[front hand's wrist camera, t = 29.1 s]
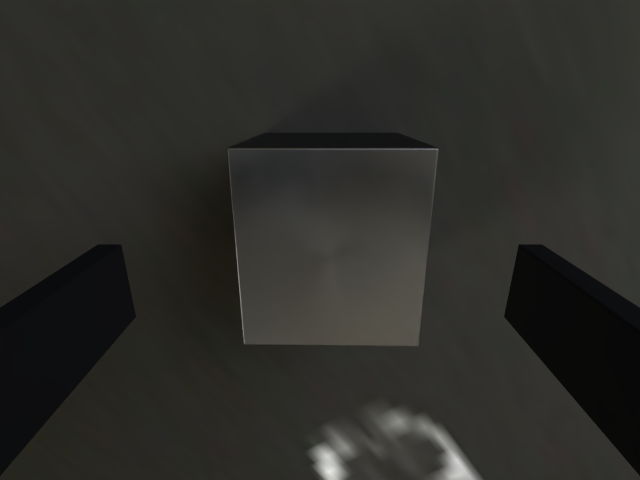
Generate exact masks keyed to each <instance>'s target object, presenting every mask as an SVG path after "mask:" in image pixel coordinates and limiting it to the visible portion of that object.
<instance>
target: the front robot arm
mask: <svg viewBox="0 0 640 480" xmlns="http://www.w3.org/2000/svg"><path fill="white" fill-rule="evenodd" d="M135 317H136V315H135V310H134V305H133V300H132V296H131V291H130V286H129V281H128V276H127V271H126V266H125V261H124V256H123V251H122V246H121V245H97V246H95V247H93V248H92V249H90V250H89V251H87V252H86V253H84V254H83V255H81V256H80V257H78V258H77V259H75V260H73V261H72V262H70V263H69V264H67V265H66V266H64V267H63V268H61V269H60V270H58V271H56V272H55V273H53V274H52V275H50V276H49V277H47V278H46V279H44V280H43V281H41V282H39V283H38V284H36V285H35V286H33V287H32V288H30V289H29V290H27V291H26V292H24V293H22V294H21V295H19V296H18V297H16V298H15V299H13V300H12V301H10V302H9V303H7V304H5V305H4V306H2V307H1V308H0V475H1V474H2V473H3V472H4V471H5V469H6V468H7V467H8V466H9V465H10V464H11V462H12V461H13V460H14V459H15V458H16V457H17V455H18V454H19V453H20V452H21V451H22V449H23V448H24V447H25V446H26V445H27V444H28V442H29V441H30V440H31V439H32V438H33V437H34V435H35V434H36V433H37V432H38V431H39V430H40V428H41V427H42V426H43V425H44V424H45V423H46V421H47V420H48V419H49V418H50V417H51V416H52V414H53V413H54V412H55V411H56V410H57V408H58V407H59V406H60V405H61V404H62V403H63V401H64V400H65V399H66V398H67V397H68V396H69V394H70V393H71V392H72V391H73V390H74V389H75V387H76V386H77V385H78V384H79V383H80V382H81V380H82V379H83V378H84V377H85V376H86V374H87V373H88V372H89V371H90V370H91V369H92V367H93V366H94V365H95V364H96V363H97V362H98V360H99V359H100V358H101V357H102V356H103V355H104V353H105V352H106V351H107V350H108V349H109V348H110V346H111V345H112V344H113V343H114V342H115V340H116V339H117V338H118V337H119V336H120V335H121V333H122V332H123V331H124V330H125V329H126V328H127V326H128V325H129V324H130V323H131V322H132V321H133V319H134V318H135ZM504 317H505V318H506V319H507V321H508V322H509V323H510V324H511V325H512V326H513V328H514V329H515V330H516V331H517V332H518V333H519V335H520V336H521V337H522V338H523V339H524V340H525V342H526V343H527V344H528V345H529V346H530V348H531V349H532V350H533V351H534V352H535V353H536V355H537V356H538V357H539V358H540V359H541V360H542V362H543V363H544V364H545V365H546V366H547V367H548V369H549V370H550V371H551V372H552V373H553V374H554V376H555V377H556V378H557V379H558V380H559V382H560V383H561V384H562V385H563V386H564V387H565V389H566V390H567V391H568V392H569V393H570V394H571V396H572V397H573V398H574V399H575V400H576V401H577V403H578V404H579V405H580V406H581V407H582V408H583V410H584V411H585V412H586V413H587V414H588V416H589V417H590V418H591V419H592V420H593V421H594V423H595V424H596V425H597V426H598V427H599V428H600V430H601V431H602V432H603V433H604V434H605V435H606V437H607V438H608V439H609V440H610V441H611V442H612V444H613V445H614V446H615V447H616V448H617V449H618V451H619V452H620V453H621V454H622V455H623V457H624V458H625V459H626V460H627V461H628V462H629V464H630V465H631V466H632V467H633V468H634V469H635V471H636V472H637V473H638V474H639V475H640V308H639V307H638V306H636V305H635V304H633V303H631V302H630V301H628V300H627V299H625V298H624V297H622V296H621V295H619V294H618V293H616V292H614V291H613V290H611V289H610V288H608V287H607V286H605V285H604V284H602V283H601V282H599V281H597V280H596V279H594V278H593V277H591V276H590V275H588V274H587V273H585V272H584V271H582V270H580V269H579V268H577V267H576V266H574V265H573V264H571V263H570V262H568V261H567V260H565V259H563V258H562V257H560V256H559V255H557V254H556V253H554V252H553V251H551V250H550V249H548V248H547V247H545V246H543V245H519V246H518V251H517V256H516V261H515V266H514V271H513V276H512V281H511V286H510V291H509V296H508V300H507V305H506V310H505V315H504Z"/></svg>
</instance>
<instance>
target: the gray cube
mask: <svg viewBox="0 0 640 480" xmlns="http://www.w3.org/2000/svg"><path fill="white" fill-rule="evenodd" d="M438 153H439V149H438V148H437V147H434V146H432V145H429V144H426V143H424V142H421V141H418V140H416V139H413V138H410V137H408V136H405V135H402V134H400V133H263V134H261V135H258V136H256V137H253V138H251V139H248V140H246V141H244V142H241V143H239V144H236V145H234V146H231V147H229V148H227V157H228V169H229V181H230V193H231V204H232V216H233V228H234V239H235V251H236V263H237V275H238V286H239V298H240V310H241V322H242V333H243V343H244V344H245V345H315V346H399V347H417V346H418V345H419V336H420V326H421V317H422V307H423V297H424V288H425V278H426V269H427V259H428V249H429V240H430V230H431V220H432V211H433V201H434V191H435V182H436V172H437V163H438Z"/></svg>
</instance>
